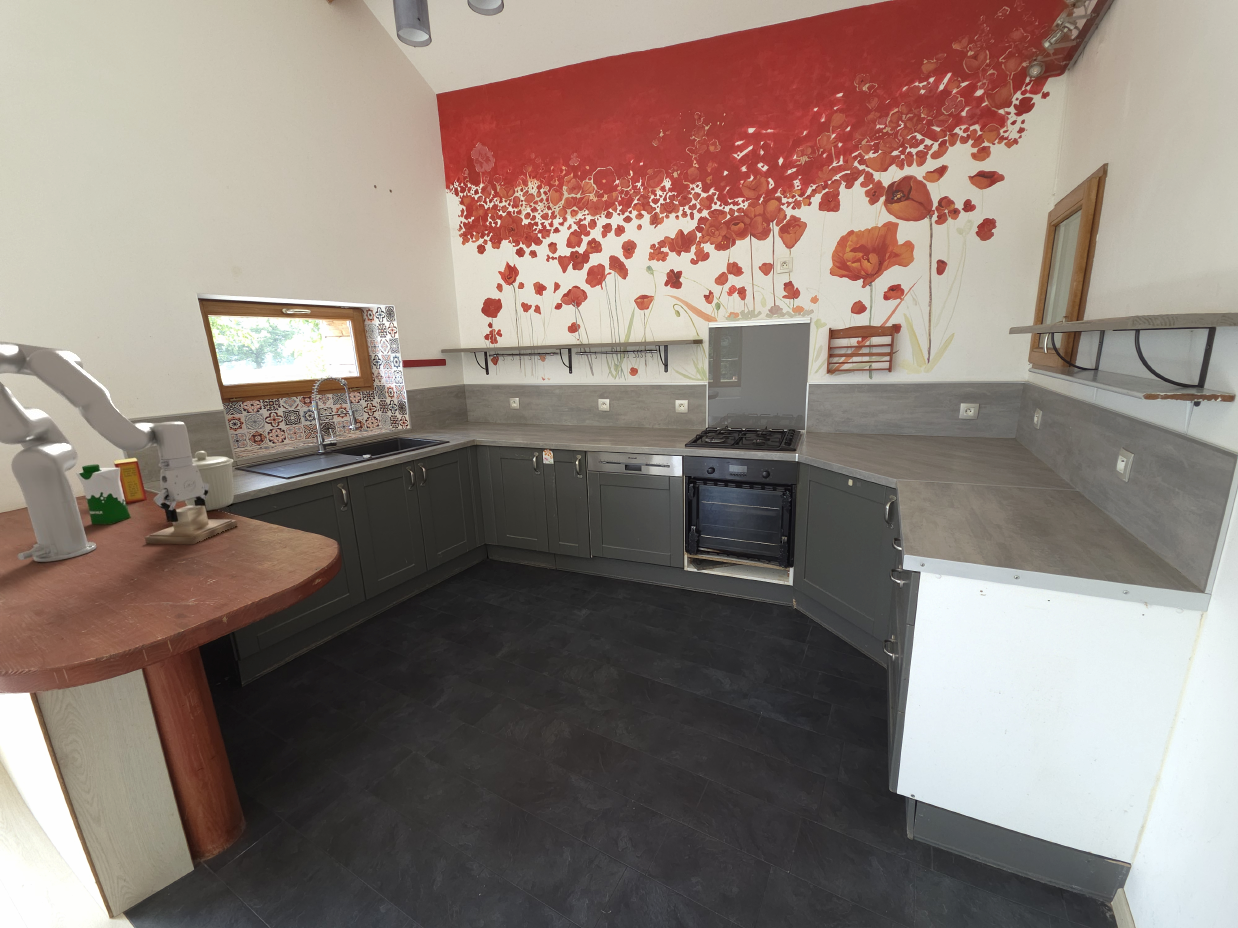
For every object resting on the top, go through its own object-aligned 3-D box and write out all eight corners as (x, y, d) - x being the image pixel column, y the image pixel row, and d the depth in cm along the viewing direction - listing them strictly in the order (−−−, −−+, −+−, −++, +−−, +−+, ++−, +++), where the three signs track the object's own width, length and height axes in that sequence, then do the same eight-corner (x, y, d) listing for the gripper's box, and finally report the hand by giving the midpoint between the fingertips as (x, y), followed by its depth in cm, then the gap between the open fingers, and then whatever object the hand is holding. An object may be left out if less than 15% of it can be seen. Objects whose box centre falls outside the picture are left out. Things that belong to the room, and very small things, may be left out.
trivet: (193, 544, 156) (191, 536, 156) (146, 543, 159) (144, 535, 158) (237, 525, 172) (236, 518, 171) (194, 525, 174) (192, 518, 173)
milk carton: (86, 525, 178) (70, 467, 173) (113, 516, 186) (99, 461, 182) (109, 525, 177) (94, 467, 172) (136, 516, 185) (122, 461, 181)
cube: (191, 530, 161) (187, 511, 160) (174, 530, 162) (169, 511, 161) (208, 523, 167) (204, 505, 166) (191, 523, 168) (187, 505, 167)
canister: (209, 516, 183) (196, 456, 179) (167, 514, 187) (153, 456, 182) (253, 500, 201) (243, 446, 196) (214, 499, 204) (203, 446, 200)
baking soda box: (122, 499, 209) (112, 459, 206) (144, 495, 214) (135, 456, 210) (124, 503, 203) (114, 463, 199) (146, 499, 207) (137, 459, 204)
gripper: (160, 469, 151) (172, 526, 155) (213, 457, 168) (222, 508, 172) (137, 469, 152) (149, 525, 156) (192, 456, 169) (201, 508, 173)
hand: (187, 516), depth 164 cm, fingers open, 9 cm apart
